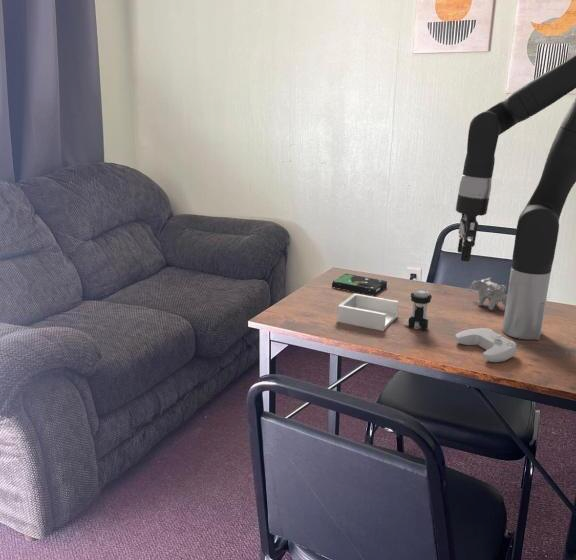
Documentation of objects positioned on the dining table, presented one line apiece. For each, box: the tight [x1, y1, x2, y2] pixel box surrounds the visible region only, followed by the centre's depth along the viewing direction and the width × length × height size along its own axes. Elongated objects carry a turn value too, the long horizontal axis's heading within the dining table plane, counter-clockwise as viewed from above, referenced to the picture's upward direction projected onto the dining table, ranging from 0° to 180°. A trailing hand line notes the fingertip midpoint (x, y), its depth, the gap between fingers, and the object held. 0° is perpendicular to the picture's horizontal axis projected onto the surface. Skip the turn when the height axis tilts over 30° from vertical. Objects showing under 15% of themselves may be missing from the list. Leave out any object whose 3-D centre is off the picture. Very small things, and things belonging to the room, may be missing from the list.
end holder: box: [336, 292, 399, 332], centre depth 152 cm, size 13×12×4 cm
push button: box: [403, 289, 432, 332], centre depth 146 cm, size 7×5×10 cm
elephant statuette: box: [469, 277, 507, 311], centre depth 165 cm, size 9×12×8 cm
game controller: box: [454, 327, 517, 363], centre depth 134 cm, size 14×4×10 cm
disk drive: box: [331, 273, 388, 297], centre depth 179 cm, size 10×3×15 cm
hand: (463, 256), depth 145 cm, fingers open, 8 cm apart
